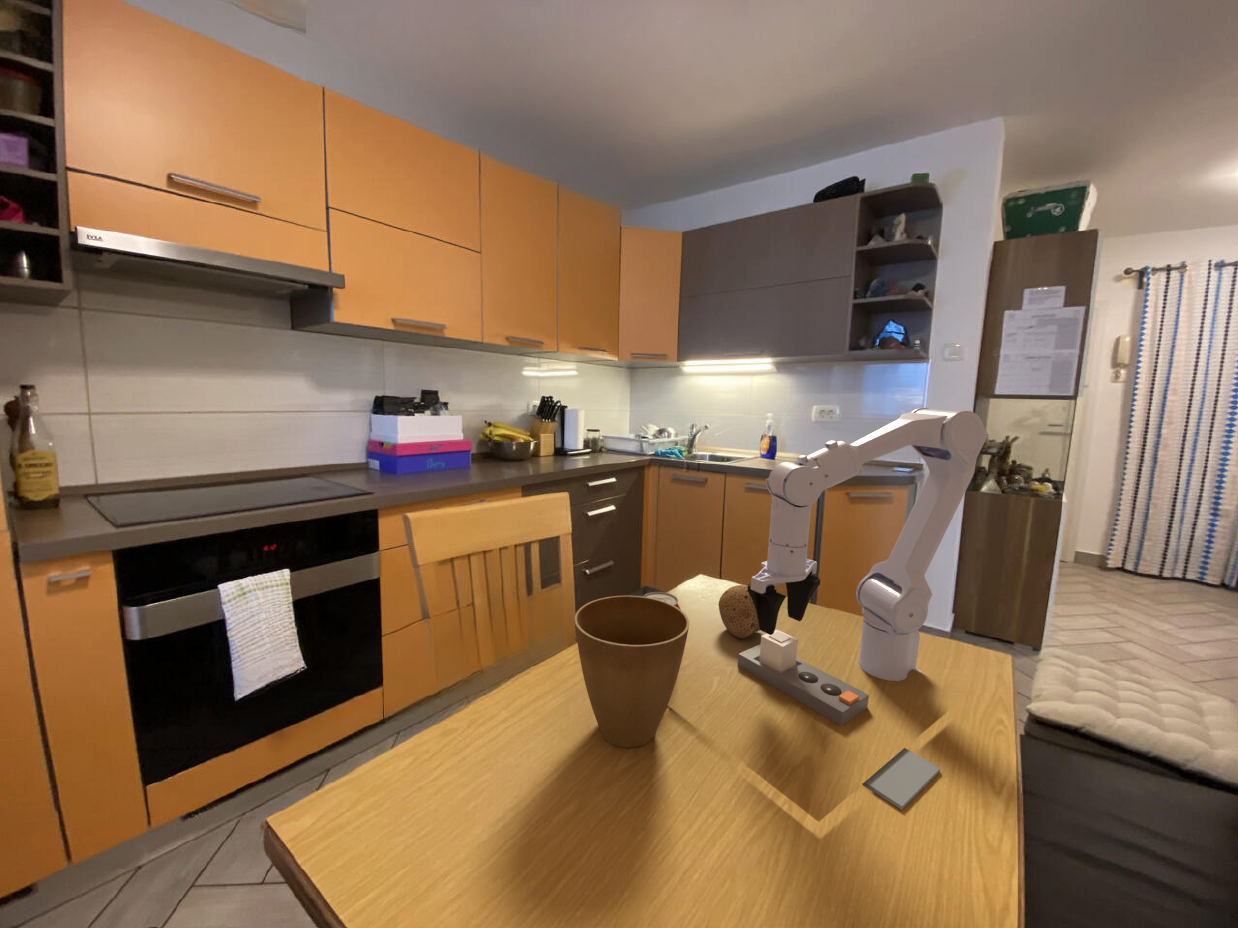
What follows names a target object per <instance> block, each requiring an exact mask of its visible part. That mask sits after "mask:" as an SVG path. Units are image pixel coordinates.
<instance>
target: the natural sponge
mask: <svg viewBox="0 0 1238 928" xmlns="http://www.w3.org/2000/svg"><path fill="white" fill-rule="evenodd" d="M747 589H748V585H745V584H739V585H733V586H731V587H729V588H728V589H727V590H725V591H724V592H723V593H722V594H721V596H720V598H719V599H718V611H719V615H720V618H721V620H722V623H723V625H724V628H725V629H726V630H727V631H728V632H729V634H731V636H733V637H735V638H737V639H746V638H748V637H749V636H751V635H752V634H755V633H756V632H759V631H760V632H761V630H760V628H759V622H758V617H757V612H756V608H755V605H754V603H753V600H752V598H751V596H750V594H749V593H748V591H747Z"/></svg>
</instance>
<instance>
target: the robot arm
mask: <svg viewBox="0 0 1238 928" xmlns="http://www.w3.org/2000/svg"><path fill="white" fill-rule="evenodd" d="M987 438H988V434H987V431H986V429H985V425H984V423H983V421H982V419H981V417H980V416H979V415H978V414H977V413H976V412H973V411H972V410H947V409H936V408H935V409H934V408H933V409H932V408H928V407H918V408H916V409H915V408H914V410H912V411H911V412H910V411H909V412H905V413H902V414H901V415H900V416H899V418H898V419H896V420H894V421H892V422H889V423H888V424H886V425H884V426H882V427H881V428H879V429H877V430H875V431H873V432H871V433H869V434H867V435H866V436H864V437H861V438H860V439H857V440H856V441H854V442H851V443H848V442H846V441H844V440H843V441H842V440H839V441H836V440H829V441H826V442H825V443H824V446H825V447H823V448H821V449H818V450H816V451H815V452H813V453H809V454H807V455H804V454H802V455H799V456H797V460H796V461H795V463H794V462H791V461H790V462H788V461H786V462H785V461H783V462H780V463H779V464H776V466H774V467H773V470H771V471H770V473H769V476H768V478H765V486H766V489H767V491H768V492H769V493H770V495H771V508H770V520H769V522H770V523H769V532H768V545H767V546H768V547H767V559H766V560H765V561H763V562H761V563H760V567H761V568H762V569H760V571H759V572H758V573H757V574H756V575H753V576H752V577H751V578H750V579H751V580H750V581H751V582H749V583H748V584H747V586H748V589H747V591H748V593H749V594H750V596H751V598H752V600H753V603H754V605H755V608H756V612H757V617H758V622H759V628H760V632H761V631H762V632H763V633H764V634H769V635H772V634H774V631H775V630H776V628H777V621H778V616H779V612H780V609H781V607H782V605H783V602H784V601H785V599H787V605H786V606H787V616H788V618H790V619H793V620H795V621H798V622H801V621H802V620H803V618H804V616H805V613H806V610H807V607H808V605H809V603H810V600H811V598H812V596H813V595H814V593H815V591H816V589H817V588H818V587H819V586H820V585H821V578H819V577H817V576H815V574H816V573H817V566H818V561H815V560H812V559H809V558H808V548H809V547H808V546H809V538H810V537H809V536H810V528H811V527H810V524H811V517H812V516H811V514H812V505H814V504H815V503H816V502H817V501H818V499H819V498H820V496H821V494H822V493H823V492H824V491H825V490H828V489H830V488H832V487H834V486H836V485H838V484H841V483H844V482H845V481H847V480H849V479H852V478H854V477H855V476H857V475H858V474H860V472H861V468H862V465H863V464H865V463H868V462H871V461H873V460H875V459H877V458H880V457H883V456H885V455H888V454H890V453H892V452H895V451H898V450H901V449H903V448H905V447H908V446H911V447H912V449H914V451H915V452H916V453H917V454H918V455H919V457H920V458H921V459H922V460H923V461H924V462H925V465H926V467H927V469H928V471H929V473H928V475H927V478H926V480H925V482H924V484H923V485H922V488H921V490H920V492H919V493H918V496H917V498H916V500H915V502H914V505H913V507H912V508H911V511H910V513H909V515H908V517H907V519H906V521H905V523H904V525H903V527H902V530H901V531H900V533H899V536H898V538H897V540H896V542H895V544H894V547H893V549H891V552H890V555H889V557H888V558H887V559H885V560H884V561H880V562H877V563H874V564H873V565H872V567H871V569H870V571H869V572H868V574H866V576H865V577H863V578H862V579H861V580H860V582H859V583H858V585H857V587H856V590H855V591H856V592H855V595H856V596H855V597H856V600H857V602H858V604H859V605H860V606H861V607H862V608H861V614H862V615H863V619H862V626H861V627H862V628H861V636H860V645H859V653H858V666H859V668H860V669H861V670H862V671H864V672H865V673H866V674H869V675H871V676H872V677H875V678H878V679H881V680H885V681H889V682H890V681H891V682H892V681H893V682H900V681H903V680H905V679H906V678H907V677H908V674H909V672H911V671H912V670H913V671H914V672H915V671H916V672H918V673H920V674H922V670H921V669H918V668H917V663H918V662H917V661H918V654H919V647H920V640H921V638H920V637H921V635H920V631H919V629H920V628H921V627H922V626H923V625H924V624H925V622H926V620H927V617H928V613H929V603H930V600H931V599H932V597H933V592H932V590H931V588H930V585H929V583H928V582H927V580H926V576H925V574H926V573H927V571H928V569H929V567H930V564H931V563H932V561H933V558H934V557H935V554H936V552H937V550H938V549H939V546H940V544H941V542H942V540H943V538H944V537H945V534H946V532H947V530H948V528H949V526H950V524H951V521H952V520H953V518H954V515H955V514H956V512H957V510H958V507H959V505H960V504H961V502H962V499H963V497H964V495H965V493H966V491H967V489H968V488H969V485H970V484H971V481H972V479H973V477H974V474H975V470H976V463H977V459H978V456H979V454H980V452H981V451H982V448H983V446H984V444H985V442H986V440H987ZM780 584H785V586H786V593H787V595H785V594H783V593H780V592H777V588H776V586H778V585H780ZM775 588H776V589H775Z"/></svg>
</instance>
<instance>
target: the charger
mask: <svg viewBox="0 0 1238 928" xmlns="http://www.w3.org/2000/svg"><path fill="white" fill-rule="evenodd" d="M760 644H761V645H760ZM760 644H759V645H760V658H759V662H760V663H762V664H764V665H766V666H767V667H769V668H771V669H773V670H775V671H776V672H778V673H780V674H783V673H785V672H787V671H789V670H791V669H793V668H795V667H796V658H798V657H797V654H798V646H799V645H798V644H799V639H798V638H795V637H793V636H792V635H789V634H787V633H785V632H783V631H781V630H779V629H776V628H775V631H774V634H772V635H769V634H767V633H764V634H763V635H761V636H760Z"/></svg>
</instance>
